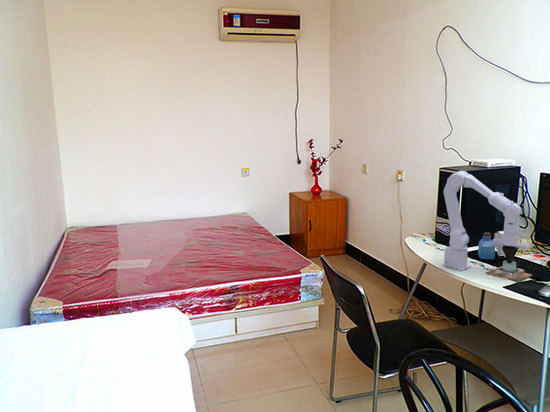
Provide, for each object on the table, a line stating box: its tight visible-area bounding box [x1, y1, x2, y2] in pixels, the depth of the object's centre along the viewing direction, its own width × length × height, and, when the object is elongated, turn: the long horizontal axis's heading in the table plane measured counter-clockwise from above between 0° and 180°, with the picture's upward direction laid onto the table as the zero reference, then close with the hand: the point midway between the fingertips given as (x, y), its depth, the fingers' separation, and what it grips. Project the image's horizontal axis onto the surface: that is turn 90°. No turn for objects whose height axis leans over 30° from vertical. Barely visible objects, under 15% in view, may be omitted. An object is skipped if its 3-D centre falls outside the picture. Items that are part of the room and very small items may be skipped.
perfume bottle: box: [477, 232, 496, 260], centre depth 212 cm, size 6×6×12 cm
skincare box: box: [496, 230, 506, 258], centre depth 212 cm, size 6×4×12 cm
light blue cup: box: [502, 260, 517, 274], centre depth 188 cm, size 5×5×5 cm
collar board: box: [486, 265, 533, 283], centre depth 188 cm, size 14×11×2 cm
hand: (509, 262), depth 187 cm, fingers closed, pressing on light blue cup
